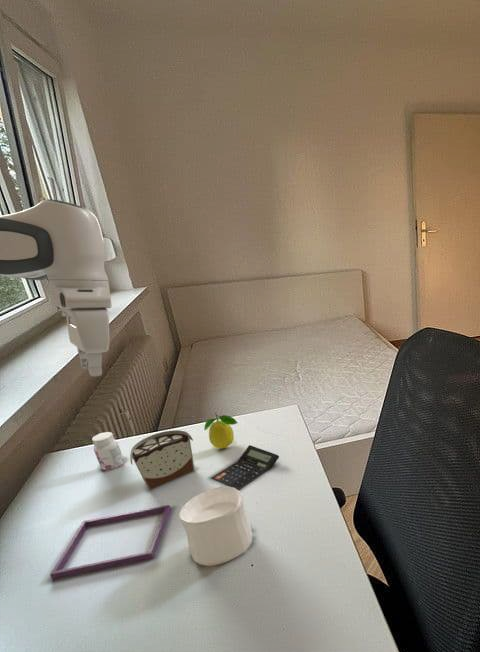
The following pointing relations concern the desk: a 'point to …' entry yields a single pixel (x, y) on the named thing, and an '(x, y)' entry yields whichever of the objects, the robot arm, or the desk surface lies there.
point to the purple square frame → (60, 573)
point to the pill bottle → (107, 451)
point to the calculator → (247, 468)
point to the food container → (163, 457)
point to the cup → (216, 526)
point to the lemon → (221, 431)
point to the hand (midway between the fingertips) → (91, 371)
